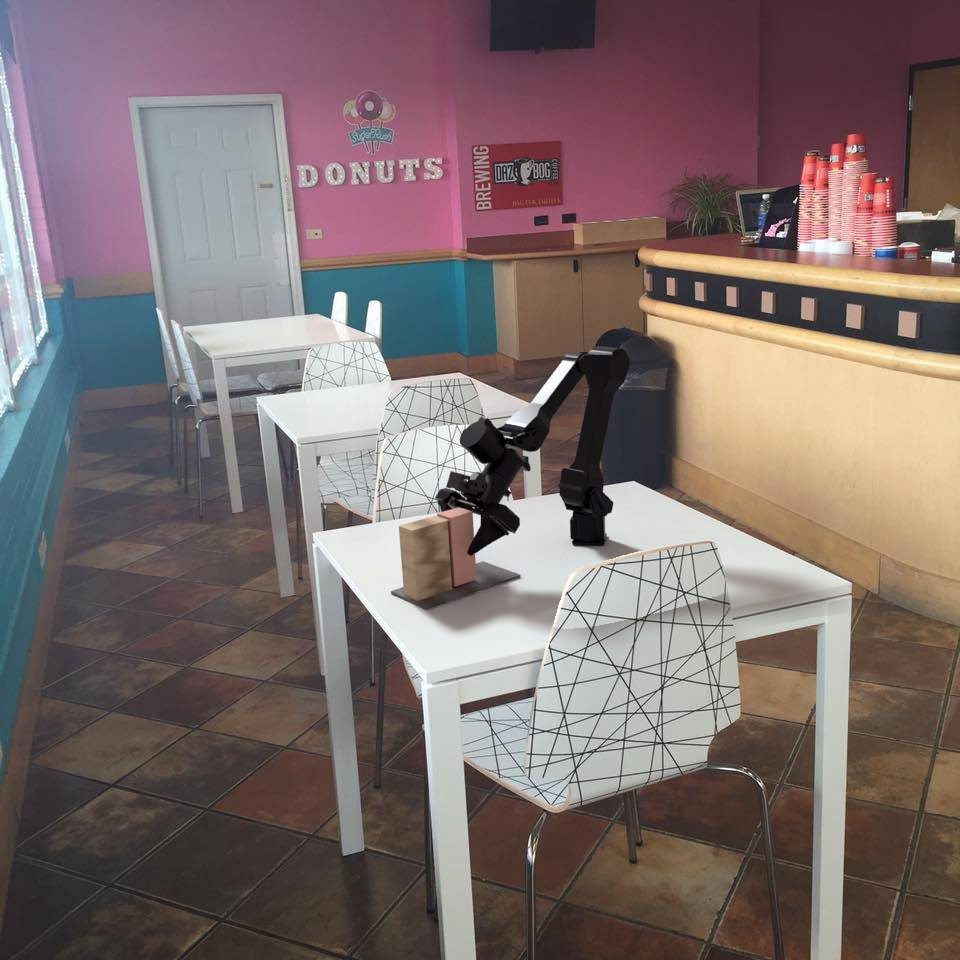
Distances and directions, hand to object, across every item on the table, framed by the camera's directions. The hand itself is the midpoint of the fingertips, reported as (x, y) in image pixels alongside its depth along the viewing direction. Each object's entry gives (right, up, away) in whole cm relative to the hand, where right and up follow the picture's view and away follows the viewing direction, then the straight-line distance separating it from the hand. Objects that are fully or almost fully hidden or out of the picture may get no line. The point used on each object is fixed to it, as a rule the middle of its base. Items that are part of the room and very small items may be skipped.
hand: (453, 548), depth 187 cm
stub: (+1, -7, +2) cm, 7 cm away
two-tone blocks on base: (+1, -7, +2) cm, 7 cm away
